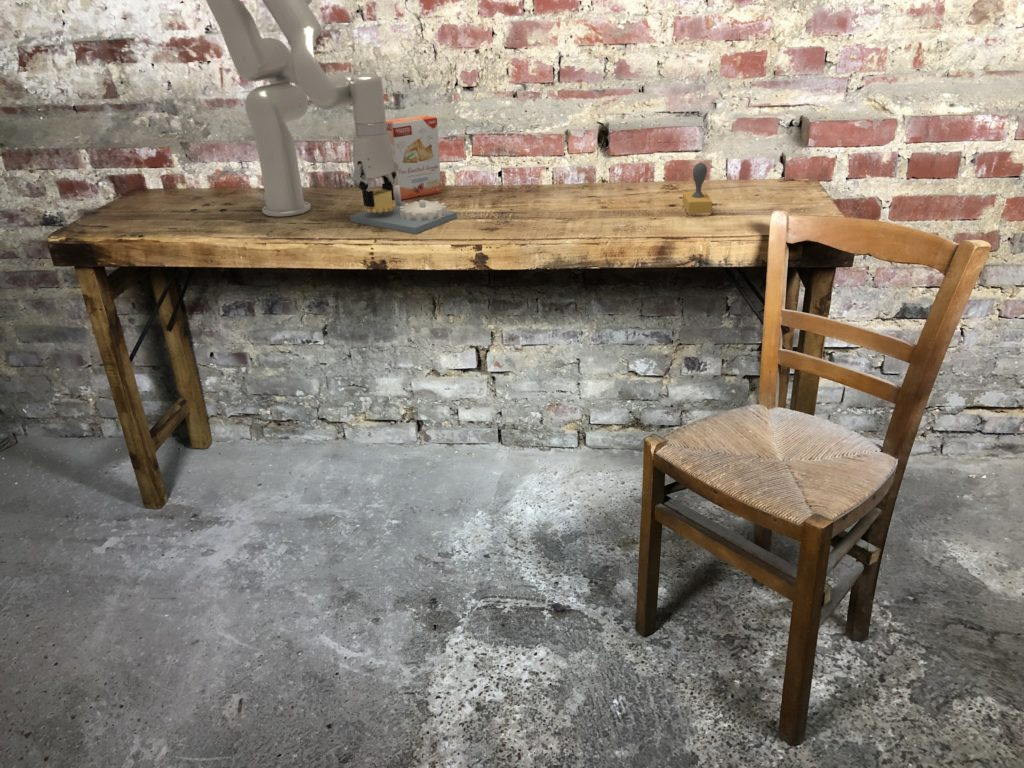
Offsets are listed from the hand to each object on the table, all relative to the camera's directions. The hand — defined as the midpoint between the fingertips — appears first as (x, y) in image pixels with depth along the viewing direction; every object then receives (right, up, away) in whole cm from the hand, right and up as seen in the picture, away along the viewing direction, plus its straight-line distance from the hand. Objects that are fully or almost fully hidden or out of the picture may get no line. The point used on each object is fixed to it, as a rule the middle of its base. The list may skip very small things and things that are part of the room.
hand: (379, 202), depth 192 cm
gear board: (+6, -4, +2) cm, 7 cm away
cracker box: (+6, +8, +24) cm, 26 cm away
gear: (0, -1, +1) cm, 1 cm away
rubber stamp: (+81, -2, +1) cm, 81 cm away
